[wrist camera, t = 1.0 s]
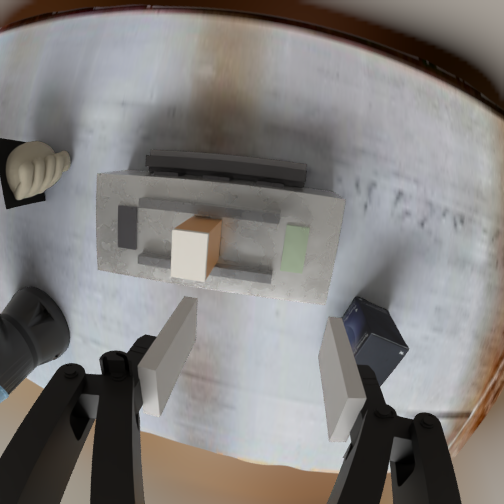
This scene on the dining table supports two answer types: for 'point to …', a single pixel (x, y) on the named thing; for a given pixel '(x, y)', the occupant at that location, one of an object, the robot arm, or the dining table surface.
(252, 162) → the grooved gray rail
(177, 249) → the lever
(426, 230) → the dining table surface
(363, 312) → the small box
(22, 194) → the decorative object
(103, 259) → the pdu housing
